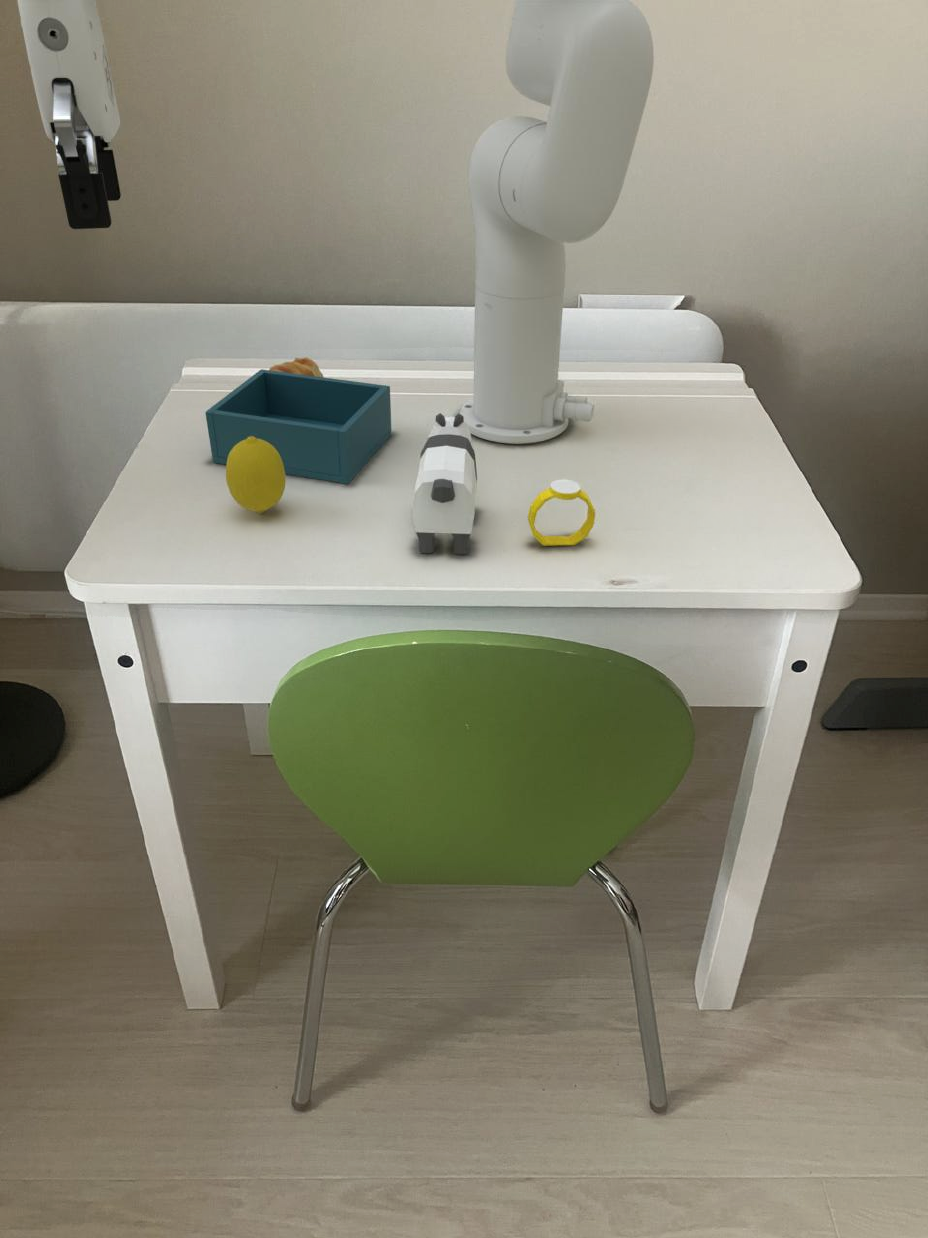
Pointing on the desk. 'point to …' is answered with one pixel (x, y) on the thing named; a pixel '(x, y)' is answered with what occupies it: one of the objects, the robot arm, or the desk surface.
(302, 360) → the pastry
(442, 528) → the giant panda
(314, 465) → the teal open bin
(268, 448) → the lemon
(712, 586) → the desk surface
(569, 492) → the watch
